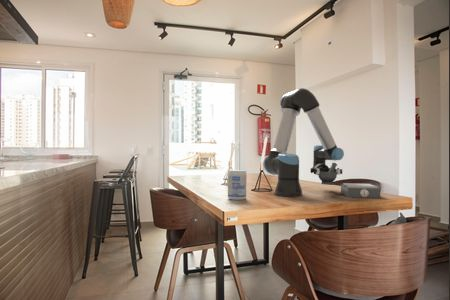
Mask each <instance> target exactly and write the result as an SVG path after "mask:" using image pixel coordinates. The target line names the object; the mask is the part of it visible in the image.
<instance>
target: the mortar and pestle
mask: <svg viewBox="0 0 450 300" xmlns="http://www.w3.org/2000/svg"><path fill="white" fill-rule="evenodd" d="M337 166H338V164H337V163H336V162H331V166H330V167H329V168H330V169H329V171H320V173H319V174H318V175H317V176H318V178H319V180H320V181H321V184H322V185H328V186H329V185H330V186H334V181H335V180H336V179H337V177H338V174H337V172H334V171H335V169H337V168H336V167H337Z"/></svg>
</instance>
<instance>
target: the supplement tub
mask: <svg viewBox="0 0 450 300" xmlns="http://www.w3.org/2000/svg"><path fill="white" fill-rule="evenodd" d="M227 198H228V199H229V200H232V201H241V200H246V199H247V170H244V169H243V170H242V169H229V170H228V173H227Z"/></svg>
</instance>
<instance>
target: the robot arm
mask: <svg viewBox="0 0 450 300" xmlns="http://www.w3.org/2000/svg"><path fill="white" fill-rule="evenodd" d="M279 104H280V106H281V107H280V108H281V109H280V111H281V113H282V114H281V118H280V121H279V125H278V129H277V133H276V136H275V140H274V144H273V147H272V149H270V150H269V153H268V156H266V157H264V159H263V162H262V164H263V165H262V166H263V168H264V170H265V172H267V173H268V174H271V175H272V176H275V175H276V176H277V182H276V183H277V184H276V187H275V189H274V195H275V196H280V197H301V196H303V190H302V186H301V184H300V157H299V155H297V154H295V153H288V152H287V151H288V148H289V143H290V140H291V137H292V133H293V129H294V125H295V121H296V119H297V117H298V116H300V113H301V109H302V111H303V113H305V114H306V115H307V117H308V119H309V121H310V123H311V126H312V128H313V129H314V131H315V134H316V136H317V139H318V140H319V142H320V144H321V145H320V144H319V145H314V147H313V161H312V165H313V166H312V167H311V168H310V173H311V174H314V175H316V176H318V174H319V173H320V171H329V169H330V168H331V167H329V166H328V165H327V164H326V161H340V160H342V159H343V158H344V157H345V153H344V149H342V148H340V147H338V146H337V144H336V142H335V139H334V138H333V135H332V133H331V131H330V128H329V127H328V124H327V122H326V120H325V117H324V116H323V114H322V111H321V109H320V106H321V105H320V103H319V101H318V99H317V97H316V96H315V95H314V93H313V92H311V91H310V90H309V89H306V88H302V87H301V88H297V89H295V90H291V91H288V92H286V93H285V94H283V96H282V97H281V98H280V103H279ZM334 172H337V176H338V175H339V176H340V175H343V168H342V169H341V168H340V167H337V168H335V171H334Z"/></svg>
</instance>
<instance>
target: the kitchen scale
mask: <svg viewBox="0 0 450 300" xmlns="http://www.w3.org/2000/svg"><path fill="white" fill-rule="evenodd" d="M340 194H341V195H343V196H345V197H346V198H354V199H355V198H360V199H361V198H363V199H364V198H366V199H381V188H380V187H378V186H377V185H374V184H371V183H354V182H353V183H350V182H349V183H348V182H346V183H345V182H344V183H342V184H340Z"/></svg>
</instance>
